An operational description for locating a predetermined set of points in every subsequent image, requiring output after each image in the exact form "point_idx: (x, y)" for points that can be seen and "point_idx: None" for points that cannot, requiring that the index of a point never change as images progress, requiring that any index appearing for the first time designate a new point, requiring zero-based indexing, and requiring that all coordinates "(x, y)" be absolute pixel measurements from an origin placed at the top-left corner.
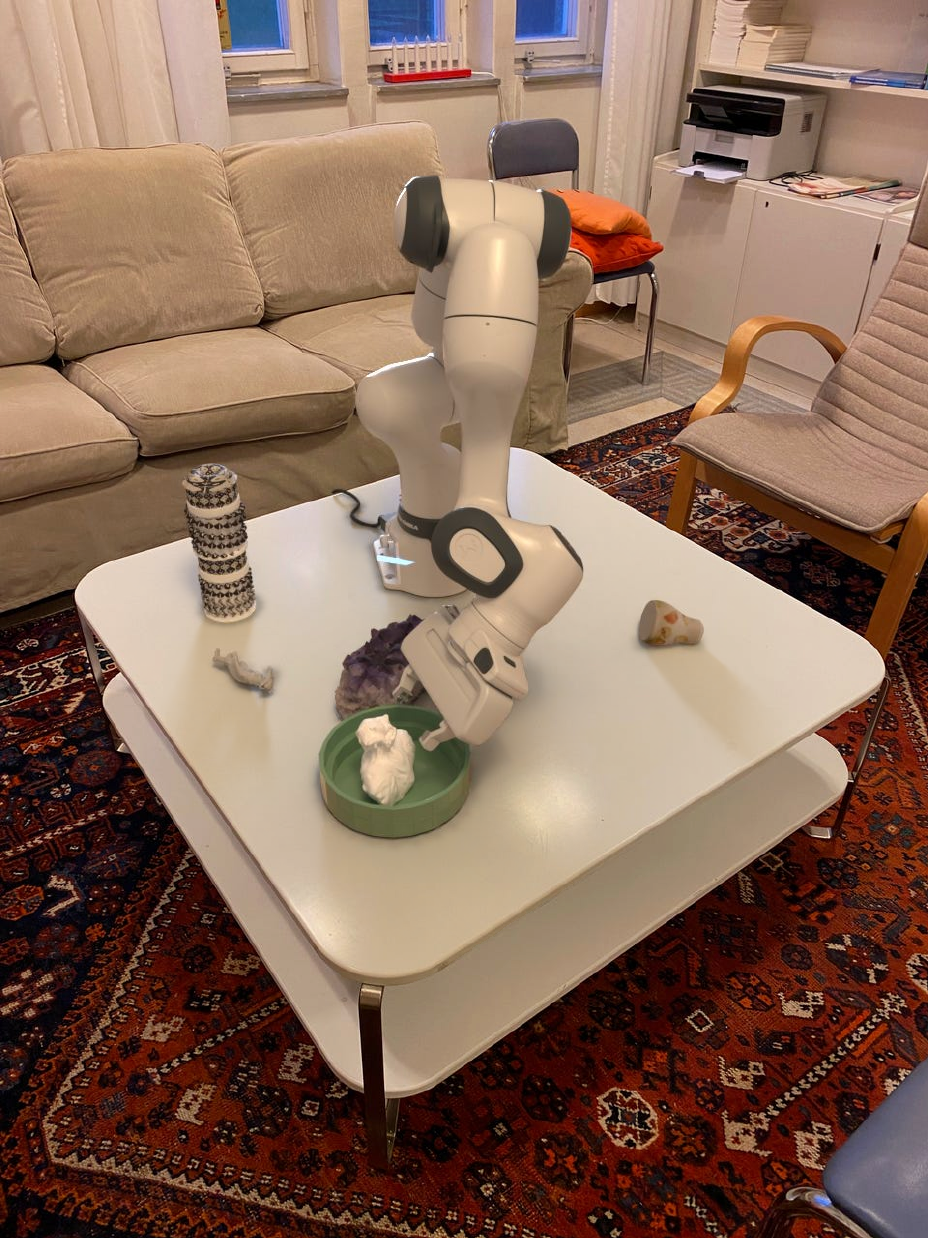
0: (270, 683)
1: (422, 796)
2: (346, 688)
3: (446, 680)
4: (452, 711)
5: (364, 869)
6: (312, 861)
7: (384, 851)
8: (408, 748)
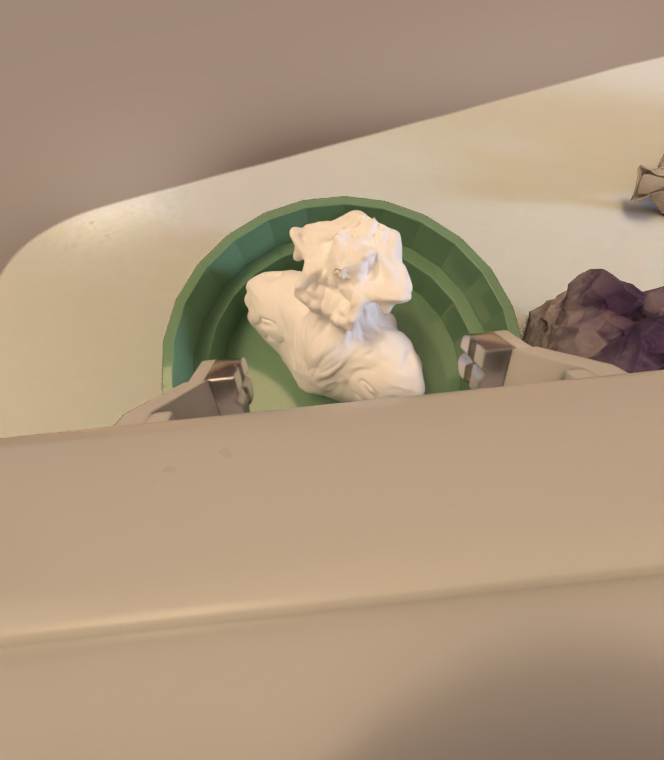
0: (652, 183)
1: (286, 406)
2: (594, 271)
3: (294, 529)
4: (42, 473)
5: (178, 283)
6: (223, 221)
7: None
8: (358, 384)
